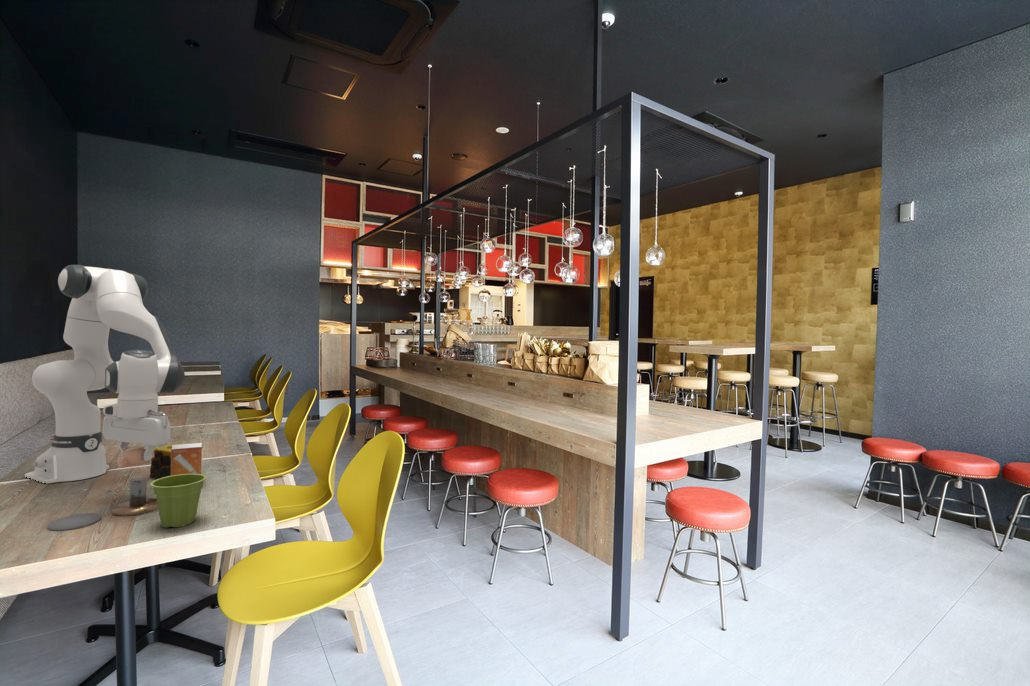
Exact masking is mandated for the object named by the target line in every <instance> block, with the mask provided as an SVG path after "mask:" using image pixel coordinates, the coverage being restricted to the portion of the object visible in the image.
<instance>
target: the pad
mask: <svg viewBox="0 0 1030 686" xmlns="http://www.w3.org/2000/svg"><path fill="white" fill-rule="evenodd" d="M101 519H102V515H101V514H100V513H95V512H87V513H86V512H85V513H78V514H72V515H67V516H63V517H60V518H57V519H54V520H52V521H51V522H49V523H48V524H47V530H48V531H53V532H65V531H72V529H73V530H77V528H78V529H81V527H82V528H85V527H84V526H86V527H88V525H89V526H91V524H92V525H94V524H96V523H98V522H100V521H101ZM97 521H98V522H97ZM64 530H65V531H64Z"/></svg>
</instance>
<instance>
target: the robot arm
mask: <svg viewBox="0 0 1030 686" xmlns="http://www.w3.org/2000/svg"><path fill="white" fill-rule="evenodd" d="M57 284H58V289H59V291H60V292H61V293H62V294H63V295H64V296H66V297H69V298H71V301H70V303H69V307H68V310H67V314H66V320H65V323H64V325H65V326H64V332H63V335H62V336H63V337H62V338H63V341H64V342H65V344H67V345H68V346H69V347H71V348H72V350H73V354H74V357H73V359H65V360H63V359H61V360H60V359H59V360H54V361H51V362H47V363H44V364H40V365H38V366H37V367H36V368H35V369H34V371H33V373H32V376H31V382H32V386H33V387H34V388H35V389H36V390H37V391H38V392H39V393H41V394H42V395H44V396H45V397H46V398H47V399H48V401H49V402H50V404H51V406H52V407H53V411H54V416H55V417H54V420H55V421H54V422H55V435H52V436H50V437H49V438H51V439H49V440H50V441H51V443H50V447H49V448H48V449H47V450H45V451H44V452H43V453H42V454H40V455H39V456H37V458H35V462H34V470H32V471H29V472H26V473H24V478H26V477H27V478H26V479H29V478H31V479H30V480H32V479H34V480H33V481H35V480H36V481H35V482H38V481H39V483H41V482H42V483H41V484H44V483H46V484H53V483H60V482H61V483H62V482H72V481H80V480H85V479H90V478H91V479H92V478H95V477H98V476H101V475H104V474H105V473H107V470H108V469H109V470H110V465H109V464H107V460H106V459H107V457H106V450H105V449H106V448H105V446H104V445H103V444H102V442H103V437H104V439H105V440H106V441H114V442H117V446H118V448H119V450H120V457H121V458H122V454H123V449H125V448H128V447H130V446H129V444H134V445H135V444H137V445H141V446H144V448H145V449H146V450H145V453H144V454H142V456H141V457H142V458H141V459H142V460H144V461H148V460H150V461H151V459H152V453H153V451H154V450H155V448H158V447H162V446H166V445H170V442H171V440H172V439H171V438H172V437H171V424H170V421H169V418H168V415H166V414H165V412H164V411H158V410H159V395H158V393H159V394H160V393H161V394H172V393H174V392H176V391H177V390H179V389H180V388H181V387H182V386H183V384H184V383H185V381H186V380H185V379H186V375H185V374H186V373H185V370H184V366H183V364H182V362H180V360H179V359H178V357H177V355H176V353H175V350H174V348H173V346H172V343H171V341H170V339H169V337H168V335H167V331H166V330H165V328H164V325H163V323H162V322H161V320H160V319H159V318H158V317H157V316H155V315H152V314H151V313H150V312H149V310H148V309H147V308H146V307H145V306H144V300H145V299H146V297H147V294H148V283H147V280H146V279H145V278H144V277H143V276H141V275H138V274H135V273H129V272H127V271H125V270H120V269H112V268H104V267H96V266H85V265H82V264H69V265H66V266H65V267H63V268H62V270H61V272H59V275H58V278H57ZM110 329H112V330H114V331H118V332H122V333H125V334H129V335H132V336H136V337H138V338H141V339H143V340H145V341H147V342H148V343H149V344H150V346H151V349H152V350H153V351H151V350H145V349H130V350H125V351H123V352H122V353H121V355H120V359H119V360H118V361H114V360H113V358H112V357H111V353H110V350H109V336H110ZM105 388H106V390H107V389H108V390H109V391H110V392H111V393H113V394H118V396H117V403H113V404H109V405H106V406H104V407H103V408H102V412H101V409H100V407H99V406H97V405H96V404H93V402H91V400H90V398H89V397H88V393H87V392H90V391H92V392H93V391H98V390H102V389H105ZM101 413H102V414H103V415H105V416H104V418H103V422H102V430H101Z"/></svg>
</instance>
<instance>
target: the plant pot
mask: <svg viewBox="0 0 1030 686" xmlns="http://www.w3.org/2000/svg"><path fill="white" fill-rule="evenodd" d="M206 479H207V475H205V474H202V473H201V474H180V475H173V476H168V477H163V478H160V479H154V480H153V481H152V482H150V487H152V489H153V493H154V495H155V497H156V499H157V504H158V509H157V510H158V515H159V519H160V524H161V527H163V528H166V527H167V528H171V527H173V528H180V527H179V526H181V527H183V526H188V525H190V524H192V522H194V521H196V517H197V511H198V507H199V502H200V499H201V498H200V496H201V492H202V489H203V486H204V483H205V480H206ZM187 524H188V525H187Z"/></svg>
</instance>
